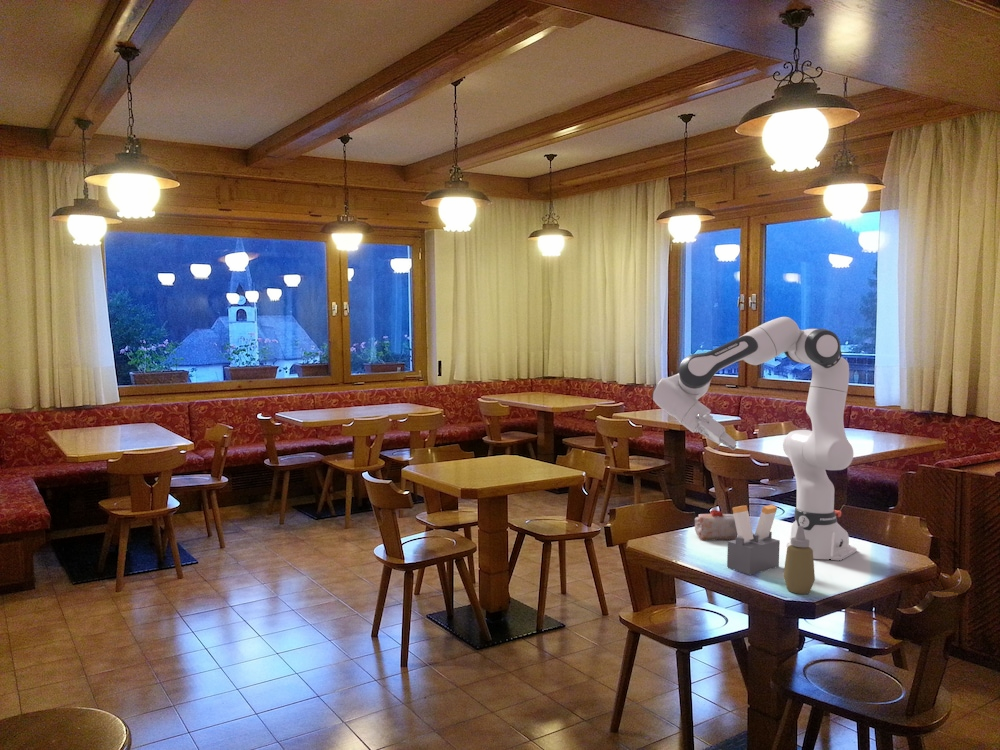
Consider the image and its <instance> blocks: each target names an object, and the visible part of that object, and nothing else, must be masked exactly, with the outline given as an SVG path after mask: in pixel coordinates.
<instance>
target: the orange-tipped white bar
mask: <svg viewBox="0 0 1000 750" xmlns="http://www.w3.org/2000/svg"><path fill="white" fill-rule="evenodd" d="M777 510H778V507H777V506H775V505H774V504H769V505H764V506H762V508H761V513H760V515H759V519H758V523H757V525H756V529H755V533H754V534H756V535H758V539H762V538H766V537H769V533H770V532H771V530H772V526H773V523H774V520H775V515H776V513H777Z"/></svg>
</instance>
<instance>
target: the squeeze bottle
mask: <svg viewBox="0 0 1000 750" xmlns="http://www.w3.org/2000/svg"><path fill="white" fill-rule="evenodd" d="M786 547H787V546H786ZM814 561H815V559H813V550H812V549H811V548H810V547H809V540H808V539H806V538H805V534H804V529H803V526H798V529H797V533H796V537H794V538H792V539H791V545H790V546H788V547H787V549H786V554H785V562H784V566H783V567H784V568H783V569H784V570H783V574H782V576H783V580H784V583H785V586H786V589H787V591H788V592H791V593H794V594H799V595H804V594H809V593H810V592H811V591H812V588H813V585H814V583H815V581H816V575H815V563H814Z"/></svg>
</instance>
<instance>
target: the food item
mask: <svg viewBox="0 0 1000 750" xmlns="http://www.w3.org/2000/svg"><path fill="white" fill-rule="evenodd" d="M709 511H710V512H709V513H700V514H698V515H697V516H696V517H695V518H694V531H695V534H696V535H697V536H698V538H699V540H700V541H732V540H736V537H738V535H737V530H736V525H735V520H734V515H733V513H723V512H722V511H721V510H717V508H714V509H712V510H709Z"/></svg>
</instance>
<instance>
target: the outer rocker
mask: <svg viewBox="0 0 1000 750" xmlns="http://www.w3.org/2000/svg"><path fill="white" fill-rule="evenodd" d="M732 514H733V515H734V520H735V525H736V530H737V537H740V538H744V541H747V540H751V539H754V538H753V534H754V532H753V529H752V523H751V519H750V515H749V511H748V505H740V506H734V507H732Z"/></svg>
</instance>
